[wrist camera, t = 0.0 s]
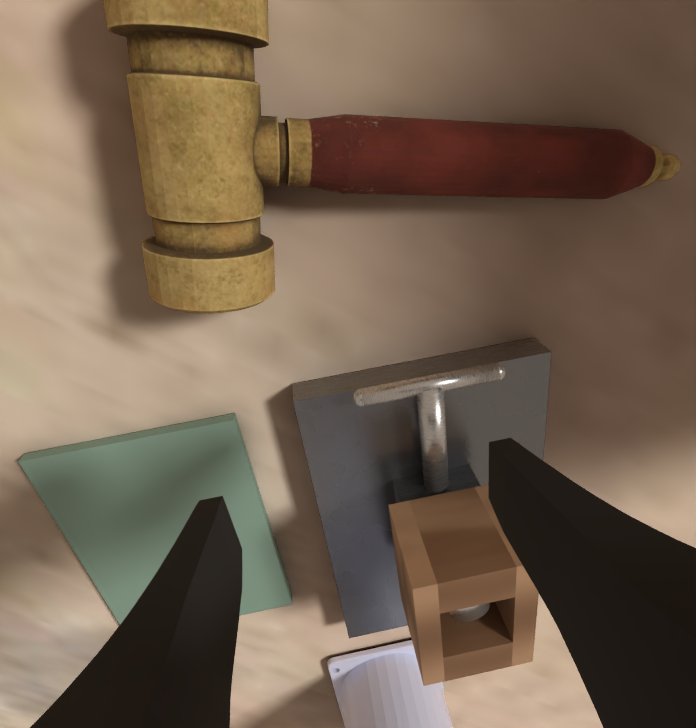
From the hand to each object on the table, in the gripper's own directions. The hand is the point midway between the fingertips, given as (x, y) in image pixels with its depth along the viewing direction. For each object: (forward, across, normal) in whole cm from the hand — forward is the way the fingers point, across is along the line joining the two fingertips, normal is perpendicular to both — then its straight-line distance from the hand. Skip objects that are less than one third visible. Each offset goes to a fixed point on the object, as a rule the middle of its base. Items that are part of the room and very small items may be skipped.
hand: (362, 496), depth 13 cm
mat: (+10, +10, +10) cm, 17 cm away
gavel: (+11, -5, -7) cm, 14 cm away
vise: (+10, -4, +11) cm, 15 cm away
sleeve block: (+7, -4, +11) cm, 13 cm away
